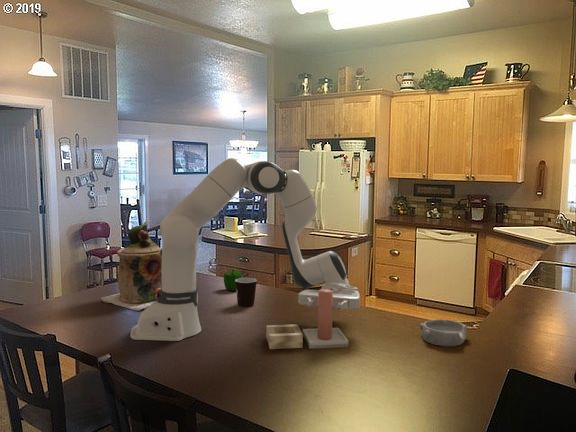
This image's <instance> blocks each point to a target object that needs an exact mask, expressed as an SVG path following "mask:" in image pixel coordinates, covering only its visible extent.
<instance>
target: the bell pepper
mask: <svg viewBox="0 0 576 432" xmlns="http://www.w3.org/2000/svg"><path fill="white" fill-rule="evenodd" d="M237 270H238V269H237V268H233V269H232V271H225V272H224V273H223V284H224V288H225V289H226V290H227V291H232V292H233V291H234V292H236V284H235V280H236V279H239V278H243V274H242V273H241V272H240V271H237Z"/></svg>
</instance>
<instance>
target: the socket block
mask: <svg viewBox="0 0 576 432" xmlns="http://www.w3.org/2000/svg"><path fill="white" fill-rule="evenodd" d="M265 335H266V338H265V339H266V341H267V345H268V348H269V350H275V349H276V350H278V349H281V350H282V349H283V350H284V349H300V348H301V349H303V348H304V347H303V343H304V342H303V338H304V337H303V331H302V330H301V329H300V327H299V324H298V323H296V324H294V323H293V324H292V323H291V324H272V325H270V324H267V325H266V333H265Z"/></svg>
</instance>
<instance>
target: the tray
mask: <svg viewBox="0 0 576 432" xmlns="http://www.w3.org/2000/svg"><path fill="white" fill-rule="evenodd" d="M302 334H303V338H304V341H305V343H306V344H307V347H308V349H309V350H310V349H313V350H314V349H330V348H332V349H334V348H335V349H336V348H337V349H338V348H348V347H349V339H348V338H347V336H346V335H345V334H344V333H343V331H342V330H341V329H340V328H339V327H332V339H330V340H320V339H318V328H302Z"/></svg>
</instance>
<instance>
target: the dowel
mask: <svg viewBox="0 0 576 432" xmlns="http://www.w3.org/2000/svg"><path fill="white" fill-rule="evenodd" d="M318 290H319V291H318V306H317V329H318V339H320V340H330V339H332V328H333V291H332V290H328V289H322V290H320V289H318Z"/></svg>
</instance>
